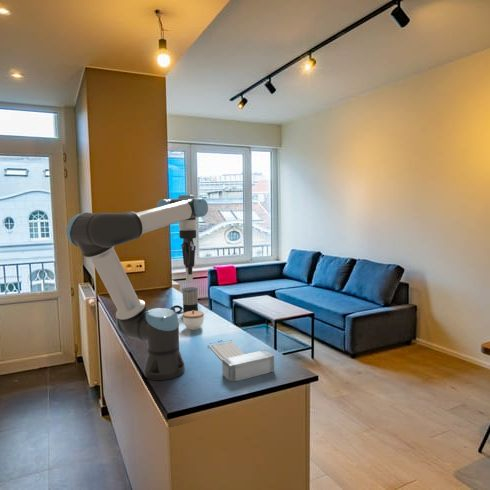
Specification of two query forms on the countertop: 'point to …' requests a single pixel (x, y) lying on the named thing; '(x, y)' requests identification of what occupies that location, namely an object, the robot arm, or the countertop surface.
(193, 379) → the countertop surface
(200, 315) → the lidded jar
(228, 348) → the baseboard
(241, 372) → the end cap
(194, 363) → the countertop surface
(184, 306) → the milk frother
